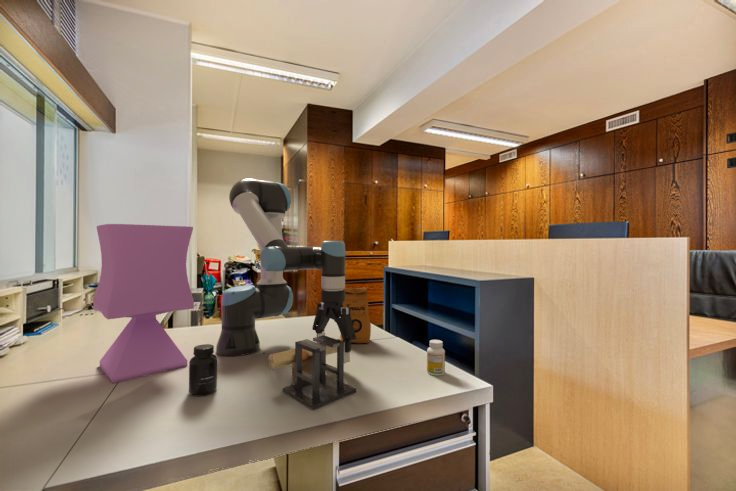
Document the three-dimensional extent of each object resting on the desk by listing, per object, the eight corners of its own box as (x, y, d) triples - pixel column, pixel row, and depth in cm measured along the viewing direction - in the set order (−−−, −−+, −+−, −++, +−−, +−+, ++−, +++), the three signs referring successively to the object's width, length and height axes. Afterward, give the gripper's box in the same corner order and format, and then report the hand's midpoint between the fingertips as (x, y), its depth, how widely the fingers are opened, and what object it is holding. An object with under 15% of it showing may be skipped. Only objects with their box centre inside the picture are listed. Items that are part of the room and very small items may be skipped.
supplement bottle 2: (433, 368, 108) (433, 337, 108) (448, 372, 104) (448, 341, 104) (423, 372, 104) (423, 341, 104) (438, 377, 101) (438, 345, 101)
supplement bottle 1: (205, 398, 86) (206, 351, 86) (182, 395, 88) (182, 349, 88) (222, 387, 93) (222, 343, 93) (200, 384, 94) (200, 342, 94)
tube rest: (290, 376, 100) (290, 356, 100) (312, 370, 106) (312, 350, 106) (302, 383, 96) (303, 362, 96) (325, 375, 101) (325, 355, 101)
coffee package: (370, 345, 132) (370, 289, 132) (338, 344, 133) (339, 288, 133) (371, 338, 142) (371, 286, 142) (341, 337, 143) (342, 285, 143)
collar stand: (282, 391, 90) (282, 341, 90) (324, 377, 100) (324, 332, 100) (313, 410, 80) (313, 353, 80) (356, 392, 90) (356, 342, 90)
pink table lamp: (193, 365, 109) (194, 226, 109) (107, 386, 93) (108, 223, 93) (170, 350, 125) (171, 228, 125) (93, 366, 108) (93, 226, 108)
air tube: (275, 371, 91) (276, 356, 91) (267, 367, 94) (268, 352, 94) (343, 353, 108) (343, 340, 108) (334, 349, 111) (335, 337, 111)
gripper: (368, 292, 102) (367, 364, 102) (320, 285, 119) (319, 346, 119) (349, 294, 96) (349, 370, 96) (301, 286, 113) (301, 351, 114)
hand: (332, 357), depth 108 cm, fingers open, 12 cm apart
